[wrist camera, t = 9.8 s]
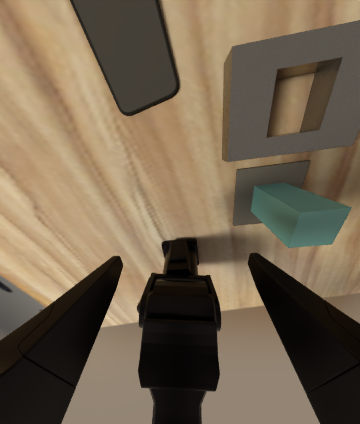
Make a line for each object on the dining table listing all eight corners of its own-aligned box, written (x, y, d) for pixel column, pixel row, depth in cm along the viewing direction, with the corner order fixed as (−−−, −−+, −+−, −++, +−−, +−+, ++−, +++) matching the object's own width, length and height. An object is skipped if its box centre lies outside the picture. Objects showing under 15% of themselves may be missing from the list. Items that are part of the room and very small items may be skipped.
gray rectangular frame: (328, 145, 16) (352, 145, 14) (222, 159, 17) (227, 161, 15) (368, 35, 12) (412, 9, 9) (224, 63, 13) (232, 46, 10)
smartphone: (121, 119, 15) (-3, -156, 8) (125, 120, 16) (14, -129, 9) (182, 91, 14) (94, -260, 7) (182, 94, 14) (104, -218, 8)
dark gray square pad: (289, 219, 21) (291, 220, 20) (232, 224, 21) (233, 225, 21) (307, 160, 17) (310, 160, 16) (236, 169, 17) (237, 169, 17)
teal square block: (277, 208, 19) (331, 244, 12) (250, 211, 20) (288, 247, 13) (284, 182, 18) (351, 207, 11) (254, 186, 18) (300, 212, 11)
